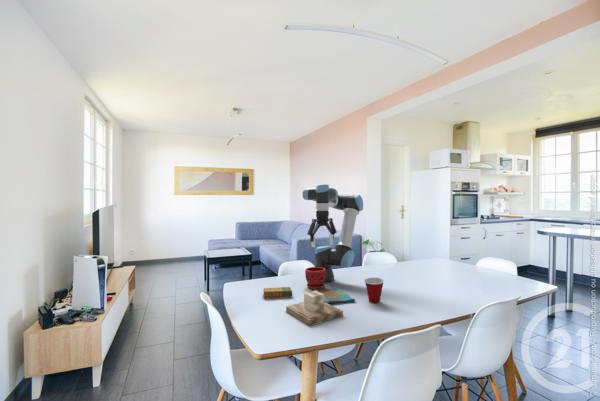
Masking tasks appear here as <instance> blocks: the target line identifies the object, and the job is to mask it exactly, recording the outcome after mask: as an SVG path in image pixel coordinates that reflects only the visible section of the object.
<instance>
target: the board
mask: <svg viewBox="0 0 600 401" xmlns="http://www.w3.org/2000/svg"><path fill="white" fill-rule="evenodd" d="M285 307H286V308H285V312H287V313H289V314H290V315H291V316H293V317H294V318H296V319H297V320H299V321H301V322H302V323H304V324H305V325H307V326H309V327H310V326H313V324H314V325H317V324H321V323H324V322H327V320H328V321H331V320H334V319H338V318H341V317H344V310H343V309H340V308H337V307H336V306H334V305H333V304H332V305H330V304H328V303H326V302H324V309H321V310H317V311H313V312H312V311H310V310H308V309H307V308H305V307H304V301H303V302H299V303H295V304H291V305H287V306H285ZM320 322H321V323H320ZM316 323H317V324H316Z"/></svg>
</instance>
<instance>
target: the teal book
mask: <svg viewBox="0 0 600 401" xmlns="http://www.w3.org/2000/svg"><path fill="white" fill-rule="evenodd" d="M313 291H318V292H320V293H322V294H324V302H326V303H328V304H330V305H332V306H333V305H342V304H355V303H356V299H355V298H353V297H351V296H350V295H349V294H347V293H346V292H345V291H344V290H342V289H340V288H339V287H335V288H322V289H313Z"/></svg>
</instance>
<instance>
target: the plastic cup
mask: <svg viewBox="0 0 600 401" xmlns="http://www.w3.org/2000/svg"><path fill="white" fill-rule="evenodd" d="M363 281H364V283H365V288H366V293H367V296H368V297H367V298H368V299H367V300H368V302H369V303H371V304H378V303H380V301H381V296H382V290H383V287H384V285H383V284H384V283H385V280H384V279H383V278H380V277H368V278H364V280H363Z"/></svg>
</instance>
